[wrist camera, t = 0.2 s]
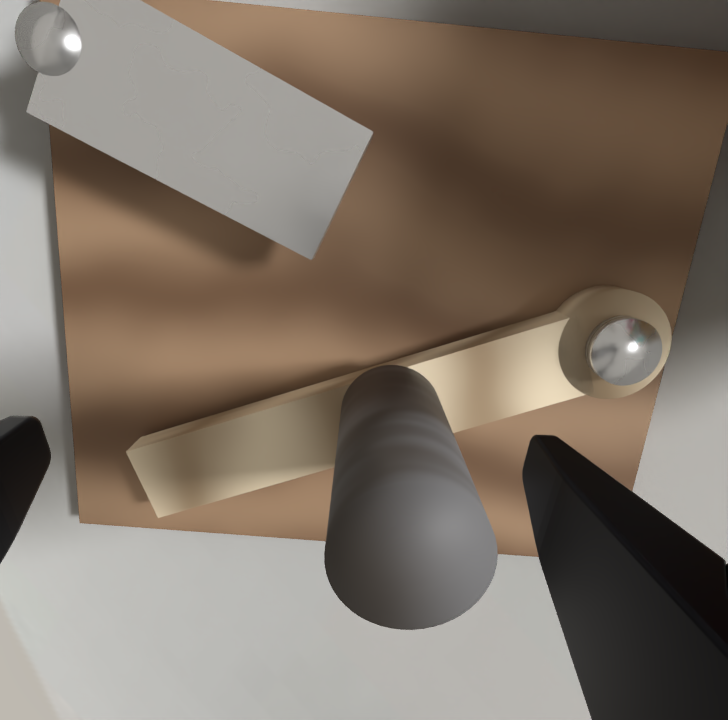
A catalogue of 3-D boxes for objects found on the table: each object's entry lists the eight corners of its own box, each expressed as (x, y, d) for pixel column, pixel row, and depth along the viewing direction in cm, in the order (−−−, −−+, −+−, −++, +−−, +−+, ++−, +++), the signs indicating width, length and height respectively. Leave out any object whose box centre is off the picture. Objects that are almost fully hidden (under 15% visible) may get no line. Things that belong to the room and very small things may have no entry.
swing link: (642, 271, 22) (917, 326, 11) (658, 370, 24) (921, 508, 13) (135, 426, 24) (-56, 602, 13) (175, 510, 26) (30, 736, 15)
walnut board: (605, 550, 28) (613, 562, 27) (89, 511, 27) (79, 522, 26) (728, 60, 21) (745, 53, 20) (53, -6, 21) (38, -17, 20)
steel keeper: (651, 302, 23) (703, 317, 20) (589, 394, 24) (627, 424, 21) (96, -10, 20) (39, -58, 16) (55, 115, 21) (-6, 96, 18)
